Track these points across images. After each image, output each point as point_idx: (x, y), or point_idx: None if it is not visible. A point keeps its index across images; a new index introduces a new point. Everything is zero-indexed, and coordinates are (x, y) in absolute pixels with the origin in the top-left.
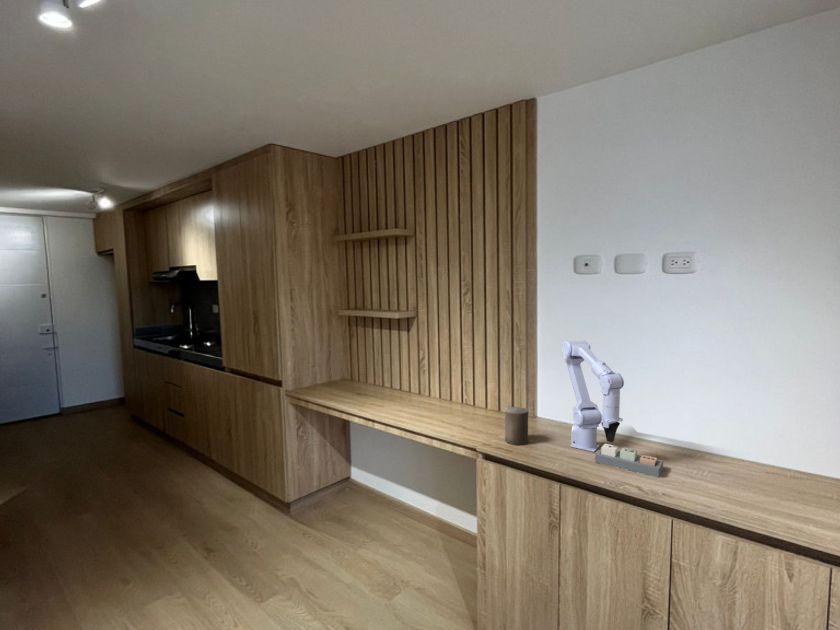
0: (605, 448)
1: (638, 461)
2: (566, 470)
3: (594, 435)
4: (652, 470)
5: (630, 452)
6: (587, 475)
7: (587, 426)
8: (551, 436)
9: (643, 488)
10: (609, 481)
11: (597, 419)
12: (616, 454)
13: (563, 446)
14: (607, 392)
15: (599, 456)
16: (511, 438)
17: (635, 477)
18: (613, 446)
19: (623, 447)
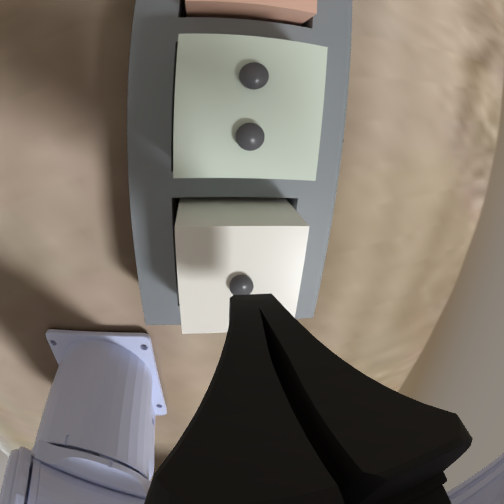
0: (296, 300)
1: (289, 27)
2: (421, 333)
3: (100, 409)
4: None
5: (291, 84)
6: (446, 265)
7: (137, 485)
8: None
9: (473, 45)
10: (471, 178)
11: (54, 500)
12: (241, 205)
13: (180, 423)
14: None
15: (314, 291)
16: None
17: (396, 60)
18: (210, 263)
19: (173, 175)
